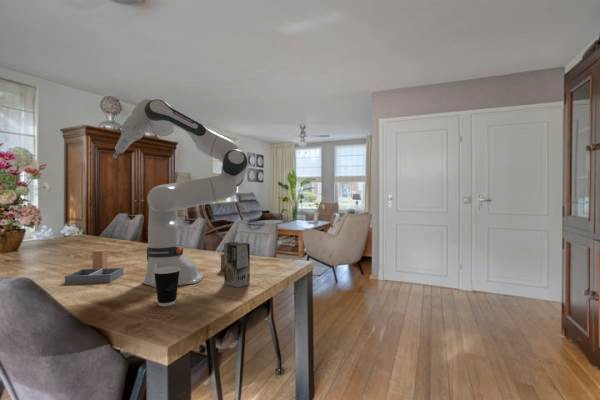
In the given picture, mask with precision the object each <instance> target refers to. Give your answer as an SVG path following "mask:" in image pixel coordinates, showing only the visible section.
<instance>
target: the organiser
mask: <svg viewBox="0 0 600 400" xmlns="http://www.w3.org/2000/svg"><path fill="white" fill-rule="evenodd" d="M123 275H124V267H112V268H111V267H107V268H102V269H93V268H82V269H79V270H77V271H75V272H73V273H70V274H67V275H65V276H64V284H65V285H73V284H74V285H76V284H78V285H79V284H100V283H103V284H104V283H112V282H113V281H115V280H116V279H118V278H120V277H122V276H123Z"/></svg>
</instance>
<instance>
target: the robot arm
mask: <svg viewBox="0 0 600 400" xmlns="http://www.w3.org/2000/svg"><path fill="white" fill-rule="evenodd" d="M174 126H175V127H177V128H178V129H181V130H183V131H184V132H186V133H187V134H188V135H189V136H190V138H191V139H192V141H193V143H194V144H195V145H194V146H196V148H197V150H198V151H199V152H201V153H203V154H204V155H206V156H208V157H211V158H214V159H216V160H218V161H219V162H221V164H222V165H221V169H220V170H221V173H220V174H218V175H215V176H210V177H209V176H208V177H203V178H198V179H192V180H185V181H177V182H172V183H164V184H160V185H156V186H154V187H152V188H151V189H150V190H149V192H148V194H147V197H146V200H147V205H148V222H147V223H148V225H147V230H148V231H147V239H148V240H147V244H148V245H147V247H146V261H147V266H146V272H145V276H144V280H143V284H145V285H148V286H151V287H153V288H156V282H155V274H154V272H153V271H154V270H155V269H158V268H162V267H179V268H180V270H179V279H178V286H183V285H192V284H193V285H194V284H196V283H200V282H201V281H202V280H203V279H204V274H203V273H202V272H198V265H197V263H196V261H194V260H192V259H191V258H189V256H186V255H185V254H184V246H181V245H179V215H178V212H179V211H180V210H184V209H189V208H193V207H199V206H202V205H207V204H212V203H216V202H220V201H224V200H227V199H229V198H232V197H234V196H235V195H236V193H237V190H238V187H239V186H240V185H241V184H242V182H243V181H244V178H245V175H246V173H247V167H248V157H247V155H246V153H244V151H242V150H240V149H239V146H238V145H237V143H235V142H234V141H232V140H231V139H230V138H229V139H228V138H227V137H225V136H223V135H220V134H219V133H216V132H214V131H212V130H211V129H209V128H207V127H206V126H204V125H203V124H202V123H200V122H199V121H197V120H196V119H194V118H192V117H190V116H188V115H186V114H184V113H183V112H181V111H178V110H177V109H175V108H174V107H172V106H171V105H170V104H169V103H168V102H167V101H165V100H162V99H147V98H145V99H142V100H141V101H139V102H138V103H137V104H136V105H135V107H134V108H133V109H132V111H131V114H130V115H129V116H128V117H127V118H126V119H125V121H124V122H123V123H122V125H121V133H120V137H119V139H118V141H117V143H116V145H115V147H114V153H113V155H112V157H113V158H115V159H117V158H118V157H119V156H120V154H123V153H125V152H126V150H127V149H128V148H129V147H130V146H131V145H132V144H133V143H134V142H136V141H138V140H140V139H142V138H143V137H144V135H145V134H146V133H147V131H148V130H149V131H150V132H152V133H153V134H155V135H157V136H161V137H166V136H169V135H171V134H172V133H173V132H174V129H175V128H174Z"/></svg>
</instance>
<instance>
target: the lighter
mask: <svg viewBox="0 0 600 400" xmlns="http://www.w3.org/2000/svg"><path fill="white" fill-rule="evenodd" d="M220 272H224V248H223V249H221V254H220Z"/></svg>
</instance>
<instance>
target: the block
mask: <svg viewBox="0 0 600 400" xmlns="http://www.w3.org/2000/svg"><path fill="white" fill-rule="evenodd" d="M102 268H108V249H96V250H93V251H92V269H102Z"/></svg>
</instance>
